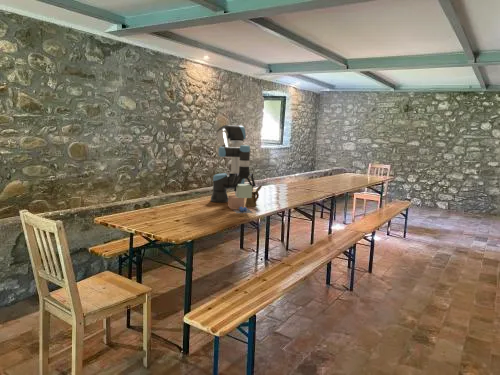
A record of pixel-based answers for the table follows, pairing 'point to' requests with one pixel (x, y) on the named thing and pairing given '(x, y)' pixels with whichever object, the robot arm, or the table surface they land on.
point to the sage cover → (244, 191)
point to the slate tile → (243, 211)
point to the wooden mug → (253, 198)
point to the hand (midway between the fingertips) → (243, 195)
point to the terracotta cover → (235, 202)
